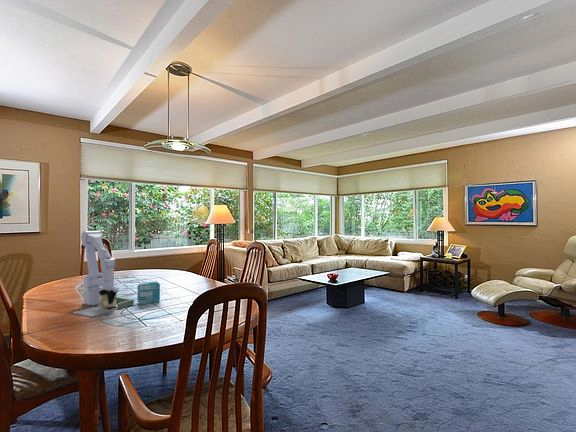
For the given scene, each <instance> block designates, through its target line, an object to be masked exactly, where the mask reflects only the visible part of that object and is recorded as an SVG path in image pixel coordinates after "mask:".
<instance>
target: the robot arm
mask: <svg viewBox="0 0 576 432" xmlns="http://www.w3.org/2000/svg"><path fill="white" fill-rule="evenodd" d="M80 235H81V236H80V240H81V245H82V246H83V247H84V248H85V255H86V256H85V257H86V261H87V263H86V264H87V270H88V273H87V274H85V276H84V277H83V280H84V281H83V287H84V288H85V290H84V292H83V302H82V303H81V304H82V305H85V306H87V305H88V306H95V305H101V295H104V294H107V296H108V303H109V304H112V303H113V300H114V297H115V295H116V294H117V293H118V292H119V287H116V286H115V268H116V267H117V266H116V265H117V261H116V258H114V257H113V256H111V253H110V252H109V250H108V248H105V246H104V243H103V232H102V231H101V230H100V229H99V230H83V231H82V232H81V234H80ZM96 250H97V252H96ZM96 253H97V254H96ZM97 257H98V258H99V260H100V261H99V262H100V264H99V265H100V268H101V269H100V270H101V272H100V271H99V268H98V261H97Z"/></svg>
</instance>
